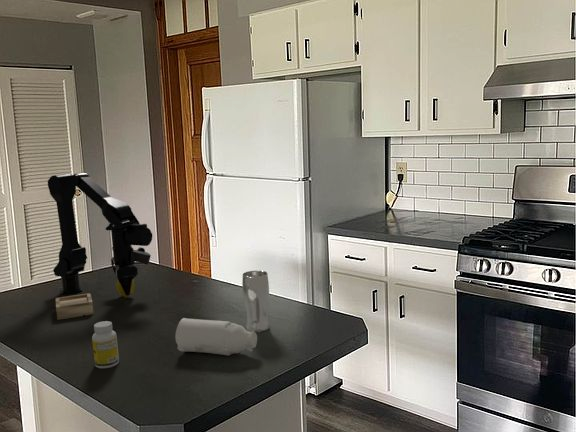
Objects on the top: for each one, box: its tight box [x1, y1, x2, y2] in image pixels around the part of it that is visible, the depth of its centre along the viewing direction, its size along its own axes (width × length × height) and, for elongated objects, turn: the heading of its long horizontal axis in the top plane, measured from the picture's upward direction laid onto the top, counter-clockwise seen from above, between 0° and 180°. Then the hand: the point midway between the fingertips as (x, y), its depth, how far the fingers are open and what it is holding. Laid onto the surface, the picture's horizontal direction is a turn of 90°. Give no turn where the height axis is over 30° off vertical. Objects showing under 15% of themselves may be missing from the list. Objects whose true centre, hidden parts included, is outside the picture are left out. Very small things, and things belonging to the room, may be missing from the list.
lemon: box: [116, 278, 135, 299], centre depth 183 cm, size 6×6×8 cm
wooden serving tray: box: [55, 292, 95, 320], centre depth 171 cm, size 10×10×4 cm
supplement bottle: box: [91, 320, 120, 369], centre depth 131 cm, size 5×5×10 cm
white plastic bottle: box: [175, 317, 258, 356], centre depth 135 cm, size 8×19×8 cm, turn 72°
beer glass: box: [241, 270, 270, 333], centre depth 150 cm, size 7×7×15 cm
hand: (126, 291), depth 183 cm, fingers open, 9 cm apart
